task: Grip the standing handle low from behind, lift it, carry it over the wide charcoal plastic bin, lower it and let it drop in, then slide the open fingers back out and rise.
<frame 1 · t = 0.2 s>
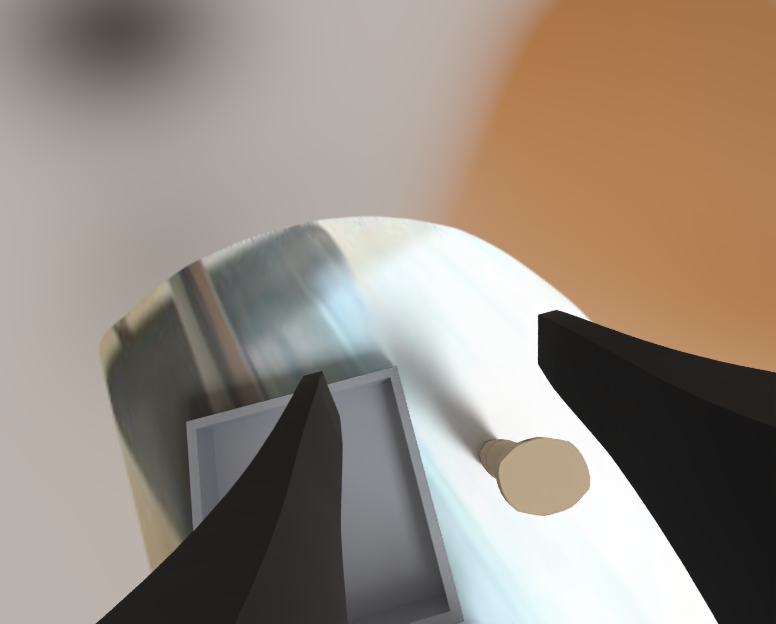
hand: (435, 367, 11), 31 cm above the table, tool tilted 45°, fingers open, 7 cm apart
bin: (321, 502, 38), on the table
handle: (491, 455, 39), on the table
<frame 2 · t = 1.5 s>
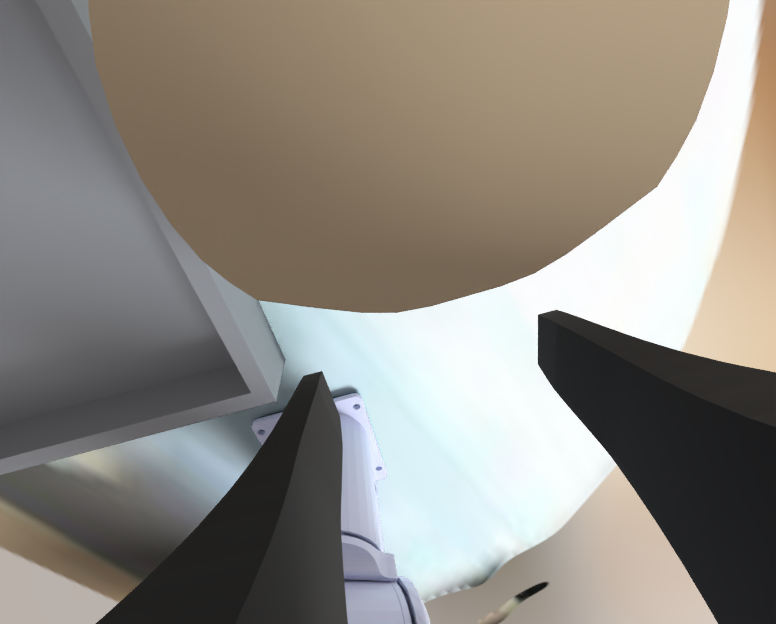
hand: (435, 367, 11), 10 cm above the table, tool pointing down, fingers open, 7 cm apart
handle: (355, 127, 17), on the table
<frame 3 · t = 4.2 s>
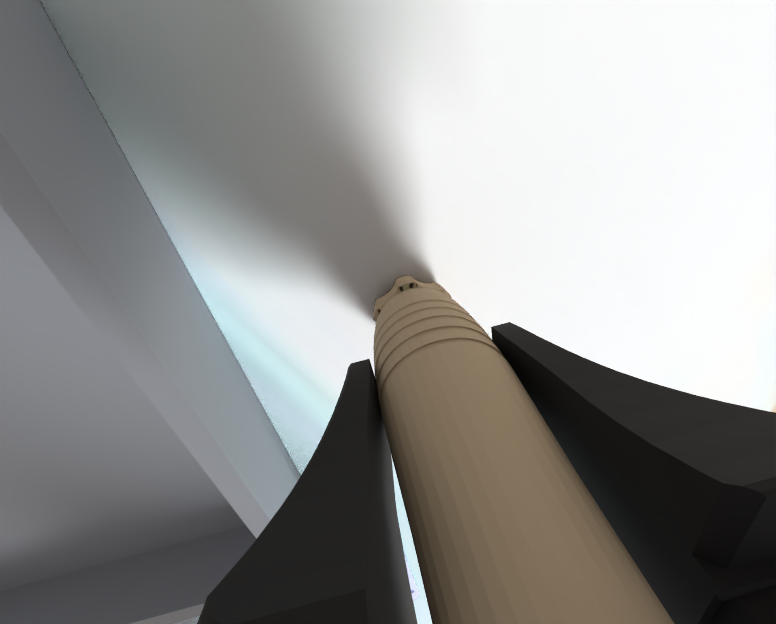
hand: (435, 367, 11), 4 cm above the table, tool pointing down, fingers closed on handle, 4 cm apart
handle: (408, 304, 15), on the table, touching gripper
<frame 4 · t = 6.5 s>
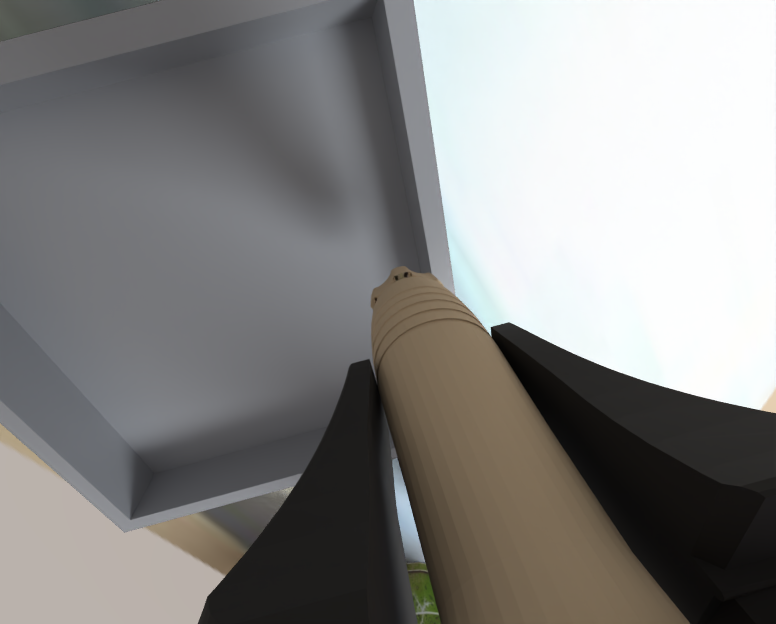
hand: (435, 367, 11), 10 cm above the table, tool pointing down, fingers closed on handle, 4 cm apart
bin: (237, 301, 20), on the table
lantern: (401, 585, 39), on the table
handle: (403, 293, 16), point 5 cm above the table, touching gripper
when the fingers open (6 cm above the table, at t = 8.8 s): handle moves 2 cm, point 1 cm above the table.
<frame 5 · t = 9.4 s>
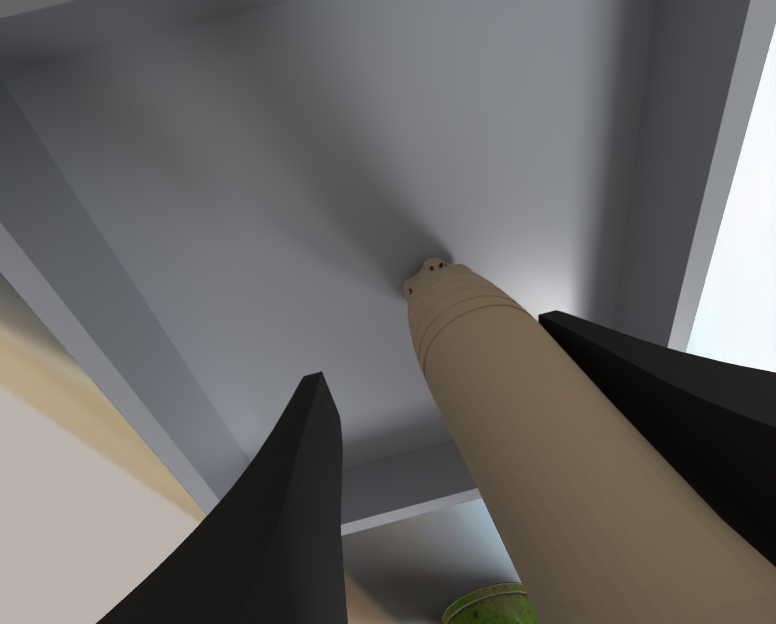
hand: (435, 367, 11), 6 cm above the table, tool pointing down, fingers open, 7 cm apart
bin: (401, 287, 17), on the table
lantern: (490, 606, 36), on the table
handle: (434, 285, 16), point 1 cm above the table, touching gripper
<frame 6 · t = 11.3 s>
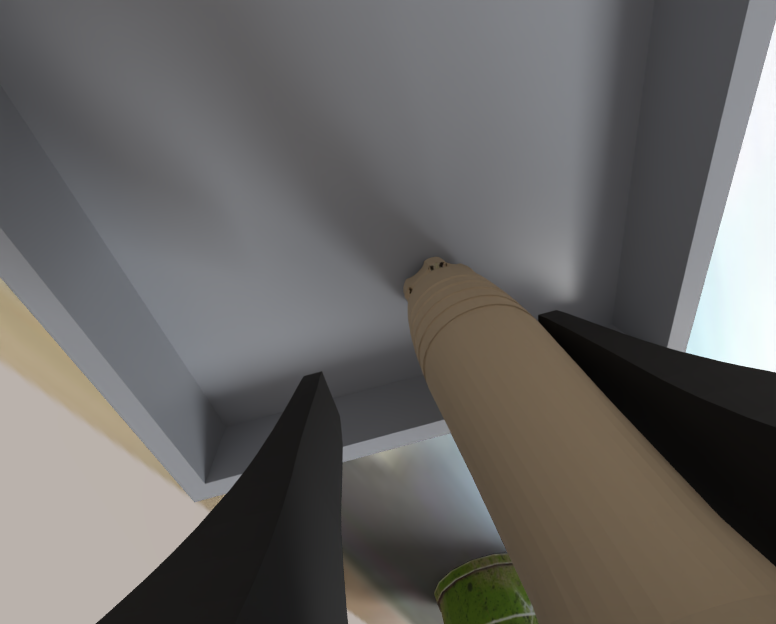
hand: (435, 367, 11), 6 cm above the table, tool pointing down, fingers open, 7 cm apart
bin: (372, 161, 14), on the table
lantern: (486, 581, 33), on the table
handle: (434, 285, 16), point 1 cm above the table, touching gripper
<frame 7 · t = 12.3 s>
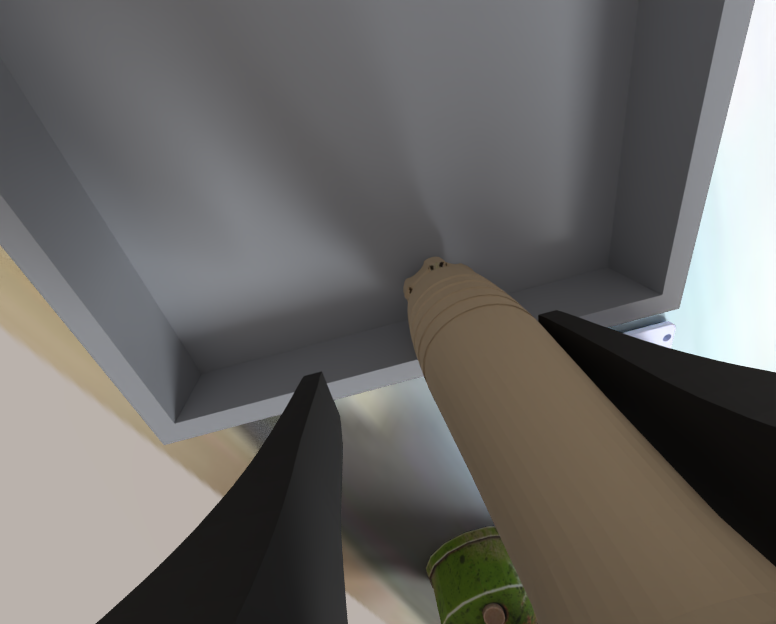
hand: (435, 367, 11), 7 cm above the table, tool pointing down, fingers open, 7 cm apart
bin: (350, 70, 13), on the table
lantern: (479, 556, 32), on the table
handle: (434, 285, 16), point 1 cm above the table, touching gripper
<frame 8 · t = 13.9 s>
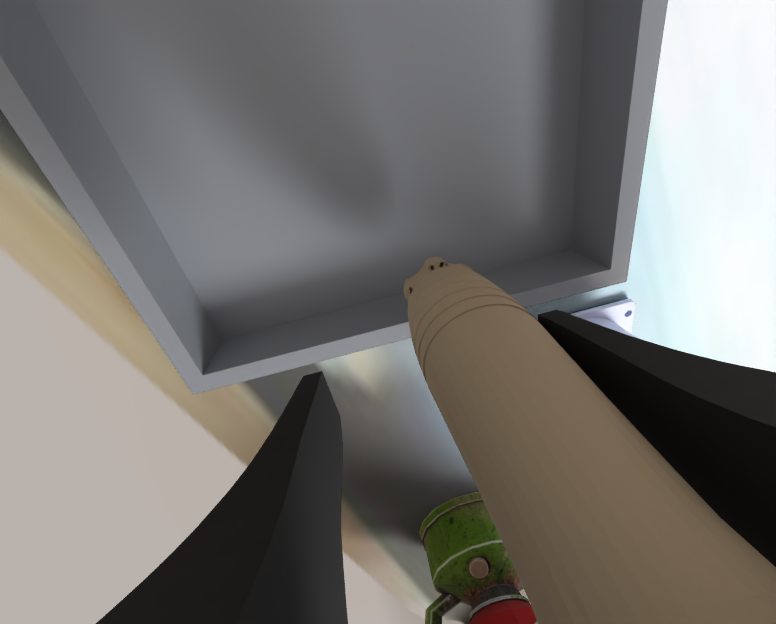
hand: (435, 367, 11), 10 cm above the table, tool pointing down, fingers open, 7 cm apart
bin: (349, 82, 16), on the table
lantern: (468, 522, 35), on the table
handle: (434, 285, 16), point 5 cm above the table, touching gripper
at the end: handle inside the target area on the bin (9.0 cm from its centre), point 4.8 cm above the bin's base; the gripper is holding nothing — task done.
